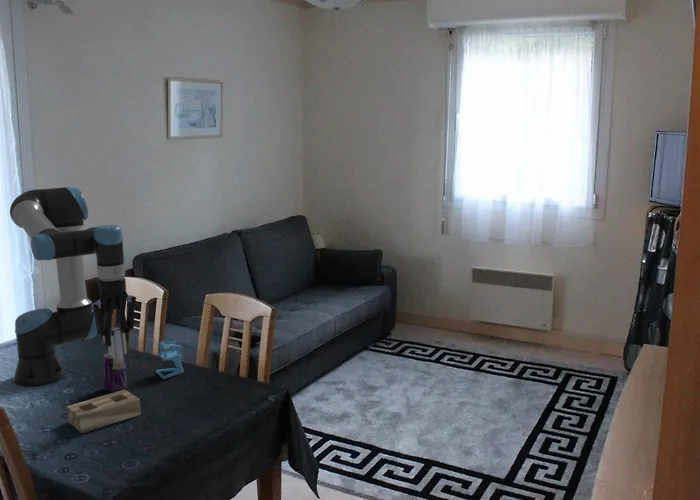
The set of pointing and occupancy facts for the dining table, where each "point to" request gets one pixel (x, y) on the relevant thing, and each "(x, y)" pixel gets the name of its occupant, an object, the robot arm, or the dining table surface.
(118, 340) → the pin
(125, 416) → the hole block
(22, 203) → the robot arm
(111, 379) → the beverage can
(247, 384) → the dining table surface
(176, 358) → the chair
